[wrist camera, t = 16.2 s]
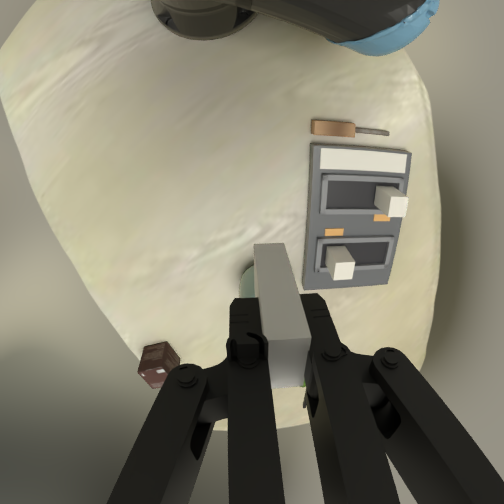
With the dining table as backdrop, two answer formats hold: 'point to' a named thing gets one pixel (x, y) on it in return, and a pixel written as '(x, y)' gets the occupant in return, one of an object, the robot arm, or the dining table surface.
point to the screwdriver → (340, 129)
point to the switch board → (352, 212)
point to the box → (157, 363)
